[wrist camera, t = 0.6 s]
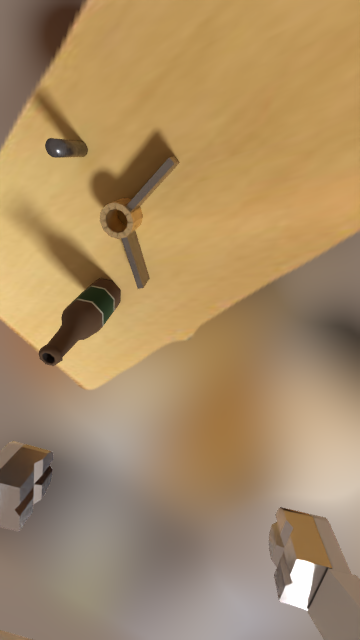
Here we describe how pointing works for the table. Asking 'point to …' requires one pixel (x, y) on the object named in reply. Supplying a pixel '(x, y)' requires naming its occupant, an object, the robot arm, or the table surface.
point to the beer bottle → (82, 319)
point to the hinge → (134, 221)
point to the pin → (66, 148)
